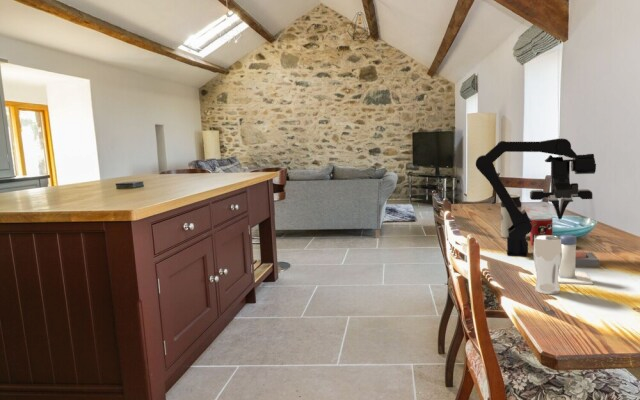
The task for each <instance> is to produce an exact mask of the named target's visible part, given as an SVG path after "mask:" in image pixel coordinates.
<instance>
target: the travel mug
mask: <svg viewBox="0 0 640 400" xmlns="http://www.w3.org/2000/svg"><path fill="white" fill-rule="evenodd" d="M509 195H510V196H511V198H512V200H513V201H514V203H515V204H516V206H517V207H518V209H519V210H520V211H521V212H522V202H521V197H522V196H521V194H514V193H512V194H510V193H509ZM500 213H501V214H500V220H501V221H500V224H501V227H500V228H501V230H500V233H501V237H502V238H504V239H507V236H509V235H508V231H507V229H508V228H510V227H511V226H512V225H513V223H512V221H511V218H510V216H509V213H508V211H507V210H506V208H505V207H504V205H503V203H502V202H500Z"/></svg>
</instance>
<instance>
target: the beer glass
mask: <svg viewBox="0 0 640 400" xmlns="http://www.w3.org/2000/svg"><path fill="white" fill-rule="evenodd" d="M532 249H533V252H532V256H533V262H534V268H535V272H536V273H535V274H536V281H535V286H534V290H535V292H537V293H540V294H545V295H556V294H559V293H560V291H561V289H560V285H559V284H560V283H558V275H559V271H560V265H561V259H562V245H561V237H560V236H558V235H553V234H552V235H538V236H535V237H534V246H533V248H532Z"/></svg>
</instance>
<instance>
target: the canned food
mask: <svg viewBox="0 0 640 400" xmlns="http://www.w3.org/2000/svg"><path fill="white" fill-rule="evenodd" d="M530 219H531V220H532V222H530V223H531V225H532V229H531V231H530V244H531V246H533V247H534V237H535V236H538V235H553V217H552V216H549V215H532V216H531V217H530Z"/></svg>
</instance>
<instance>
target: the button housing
mask: <svg viewBox="0 0 640 400" xmlns="http://www.w3.org/2000/svg"><path fill="white" fill-rule="evenodd" d="M585 252H586V258H576V260H575V268H597V269H599V268H600V259H599V258H598V257H597V256H596V255H595V254H594V253H593V252H590V251H585Z"/></svg>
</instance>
